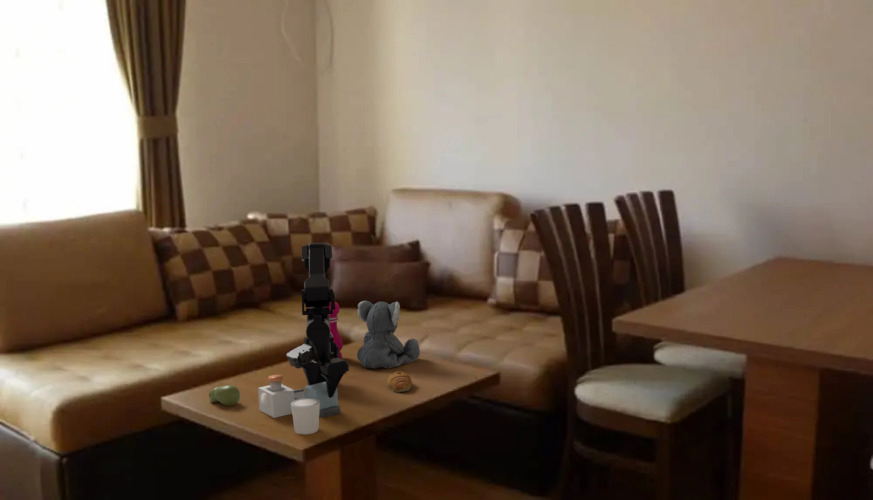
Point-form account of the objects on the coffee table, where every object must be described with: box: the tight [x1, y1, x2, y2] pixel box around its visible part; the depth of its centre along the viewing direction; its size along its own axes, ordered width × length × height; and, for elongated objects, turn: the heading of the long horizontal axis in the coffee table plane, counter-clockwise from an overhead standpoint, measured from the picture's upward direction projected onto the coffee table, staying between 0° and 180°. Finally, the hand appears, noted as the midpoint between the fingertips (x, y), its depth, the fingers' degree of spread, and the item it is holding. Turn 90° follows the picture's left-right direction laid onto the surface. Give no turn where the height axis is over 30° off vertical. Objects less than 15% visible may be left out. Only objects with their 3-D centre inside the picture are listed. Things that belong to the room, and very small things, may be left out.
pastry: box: [386, 371, 413, 393], centre depth 246 cm, size 9×7×4 cm
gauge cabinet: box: [257, 383, 295, 419], centre depth 228 cm, size 6×8×6 cm
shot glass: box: [291, 398, 320, 435], centre depth 215 cm, size 7×7×7 cm
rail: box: [293, 388, 341, 419], centre depth 233 cm, size 5×20×2 cm, turn 38°
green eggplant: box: [208, 384, 241, 407], centre depth 236 cm, size 6×5×10 cm
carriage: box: [304, 382, 339, 417], centre depth 228 cm, size 6×6×6 cm
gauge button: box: [267, 374, 283, 392], centre depth 228 cm, size 4×4×6 cm
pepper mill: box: [329, 301, 344, 359], centre depth 275 cm, size 7×7×20 cm
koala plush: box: [356, 300, 420, 370], centre depth 270 cm, size 17×18×20 cm
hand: (321, 393), depth 228 cm, fingers open, 9 cm apart
